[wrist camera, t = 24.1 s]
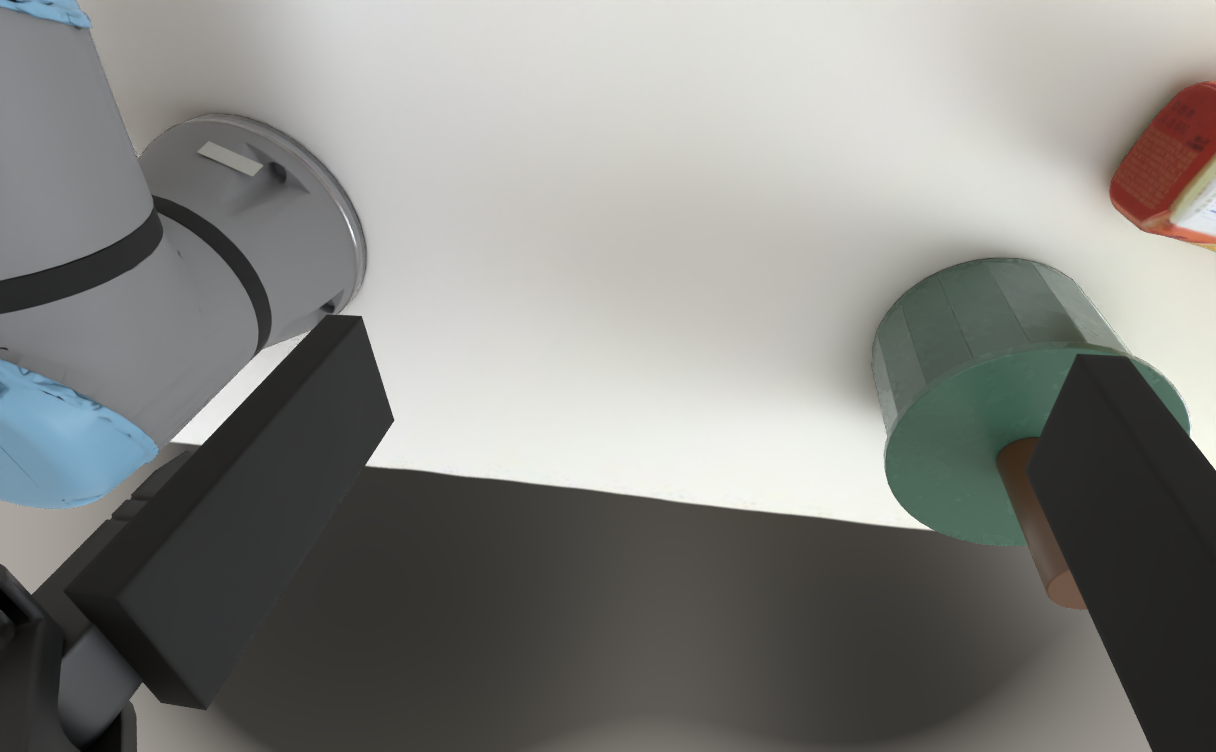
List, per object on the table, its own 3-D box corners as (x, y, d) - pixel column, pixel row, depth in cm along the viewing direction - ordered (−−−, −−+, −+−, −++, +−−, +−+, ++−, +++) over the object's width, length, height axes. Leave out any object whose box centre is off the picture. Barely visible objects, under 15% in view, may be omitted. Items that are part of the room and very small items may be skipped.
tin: (858, 417, 47) (877, 520, 40) (889, 255, 40) (919, 345, 32) (1055, 428, 45) (1114, 540, 38) (1127, 258, 38) (1218, 356, 30)
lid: (864, 519, 41) (886, 658, 34) (907, 328, 33) (948, 458, 26) (1118, 540, 38) (1201, 696, 31) (1233, 339, 30) (1382, 486, 23)
